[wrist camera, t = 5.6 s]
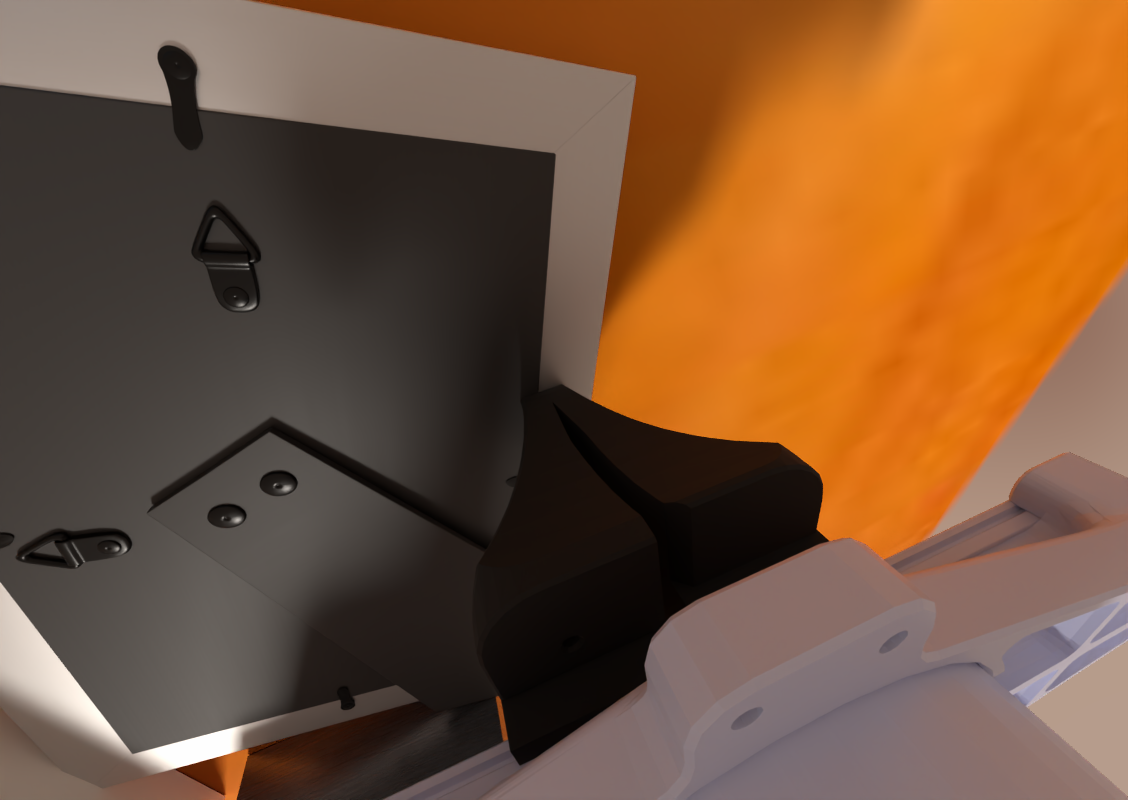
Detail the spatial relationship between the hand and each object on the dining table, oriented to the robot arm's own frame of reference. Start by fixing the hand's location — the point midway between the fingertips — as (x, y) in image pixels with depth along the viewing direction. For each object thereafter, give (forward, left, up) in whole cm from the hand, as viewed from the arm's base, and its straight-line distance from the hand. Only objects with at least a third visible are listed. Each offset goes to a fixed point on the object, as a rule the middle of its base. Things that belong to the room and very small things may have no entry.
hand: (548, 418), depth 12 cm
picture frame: (0, +7, -2) cm, 7 cm away
